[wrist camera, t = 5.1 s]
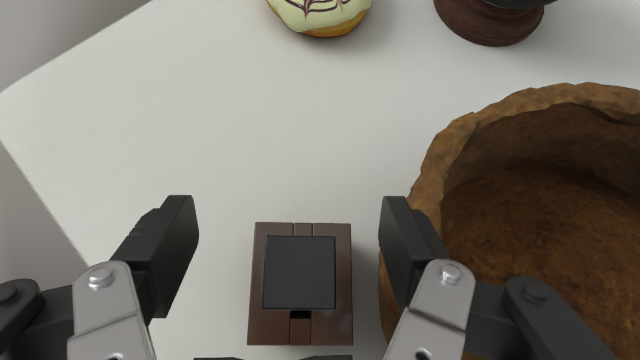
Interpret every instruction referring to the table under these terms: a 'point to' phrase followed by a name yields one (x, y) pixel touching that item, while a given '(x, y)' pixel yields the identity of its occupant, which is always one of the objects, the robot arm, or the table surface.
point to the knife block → (317, 324)
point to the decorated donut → (320, 15)
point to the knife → (299, 273)
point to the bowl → (542, 202)
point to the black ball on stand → (492, 19)
